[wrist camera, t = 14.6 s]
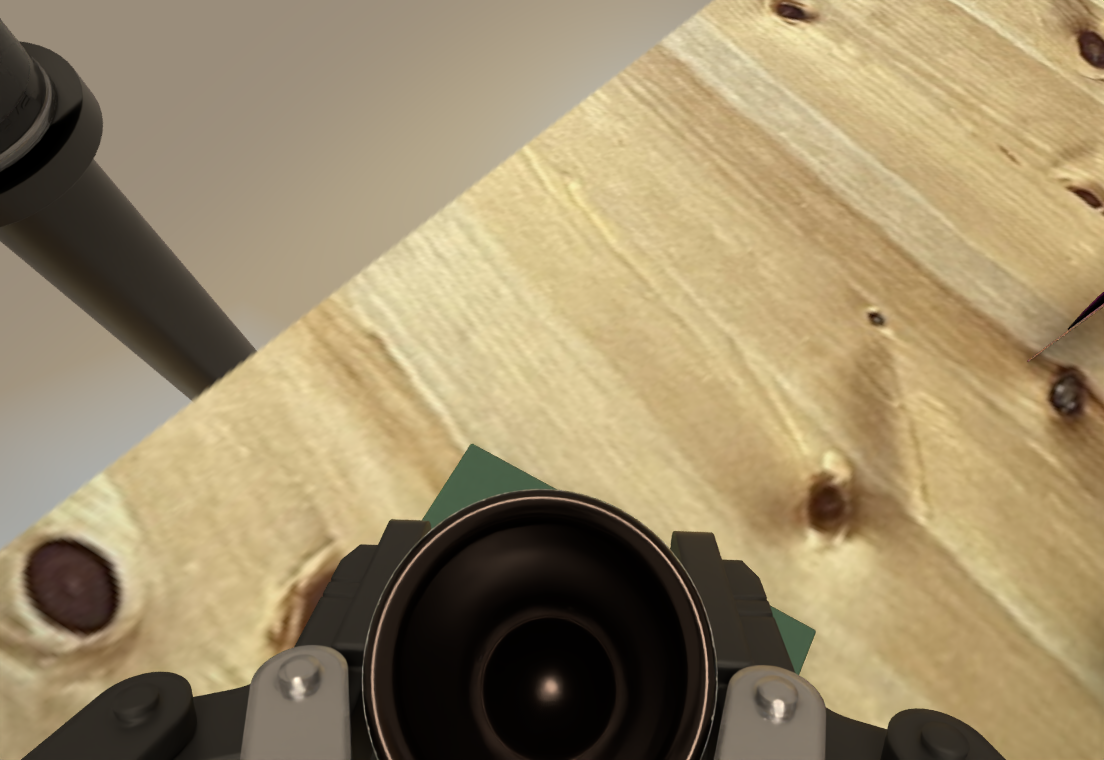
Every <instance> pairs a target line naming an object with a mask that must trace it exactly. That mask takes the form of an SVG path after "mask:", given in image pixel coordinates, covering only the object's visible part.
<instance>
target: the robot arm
mask: <svg viewBox="0 0 1104 760" xmlns="http://www.w3.org/2000/svg"><path fill="white" fill-rule="evenodd" d="M57 103H58V98H57V91H56V88H55V85H54V83H53V81H52V79H51V78H50V76H49V75H48V74H47V73H46V71H45V70H44V69H43V68H42V67H41V65H40V64H39V63H38V62H37V61H36V60H35V59H34V58H33V57H31V56H30V55H29V53H28V52H27V51H26V50H25V49H24V47H23V46H22V45H21V44H20V42H19V41H18V40H17V39H16V38H15V36H14V35H13V34H12V33H11V31H10V30H9V29H8V28H7V26H6V25H5V24H4V23H3V22H2V20H1V19H0V173H1V172H3V171H5V170H7V169H8V168H10V167H11V166H13V165H15V164H16V163H17V162H19V161H20V160H21V159H23V158H24V157H25V156H26V155H28V154H29V153H30V152H31V151H32V150H33V149H34V148H35V147H36V146H37V145H38V144H39V142H40V141H41V140H42V139H43V137H44V136H45V135H46V133H47V132H48V130H49V128H50V127H51V124H52V122H53V120H54V117H55V114H56V110H57ZM430 530H432V529H431V524H430V521H420V520H394V519H391V520H390V521H389V523H388V525H387V527H386V529H385V531H384V533H383V535H382V537H381V540H380V542H379V544H378V545H359V546H358V547H357V548H356V549H354V550H353V551H352V552H350V553H349V554H348V555H347V556H345V557H344V558H343V559H342V560H341V561H340V563H339V565H338V567H337V569H336V570H335V572H334V574H333V576H332V578H331V582H329V583H328V585H327V587H326V589H325V591H324V593H323V597H321V598H320V600H319V602H318V604H317V606H316V608H315V609H314V611H313V613H312V615H311V617H310V619H309V621H308V622H307V624H306V626H305V628H304V630H303V632H302V634H301V635H300V637H299V639H298V641H297V643H296V645H295V647H294V648H291V649H288V650H285V651H283V652H281V653H279V654H277V655H275V656H273V657H272V658H270V659H269V660H268V661H266V662H265V663H264V664H263V665H262V666H261V667H260V668H259V669H258V670H257V672H256V673H255V674H254V676H253V678H252V681H251V684H250V685H247V686H244V687H240V688H236V689H232V690H227V691H222V692H217V693H212V694H207V695H202V696H197V697H193V695H192V689H191V686H190V684H189V682H188V681H187V680H186V679H185V678H183V677H182V676H180V675H177V674H175V673H170V672H151V673H145V674H141V675H137V676H134V677H131V678H128V679H126V680H123V681H121V682H119V683H117V684H115V685H114V686H112V687H110V688H109V689H107V690H106V691H104V692H103V693H101V694H100V695H99V696H98V697H96V698H95V699H94V700H93V701H92V702H90V703H89V704H88V705H87V706H85V707H84V708H83V709H82V710H81V711H79V712H78V713H77V714H76V715H75V716H73V717H72V718H71V719H70V720H69V721H67V722H66V723H65V724H64V725H62V726H61V727H60V728H59V729H58V730H56V731H55V732H54V733H53V734H52V735H50V736H49V737H48V738H47V739H45V740H44V741H43V742H42V743H41V744H39V745H38V746H37V747H36V748H35V749H33V750H32V751H31V752H30V753H28V754H27V755H26V756H25V757H24V758H22V759H21V760H377V758H376V755H375V752H374V749H373V747H372V744H371V741H370V737H369V733H368V729H367V725H366V720H365V714H364V707H363V698H362V666H363V657H364V650H365V644H366V639H367V635H368V631H369V627H370V623H371V620H372V617H373V614H374V611H375V608H376V606H377V604H378V601H379V599H380V597H381V595H382V593H383V591H384V589H385V587H386V585H387V583H388V581H389V580H390V578H391V576H392V574H393V573H394V571H395V570H396V568H397V567H398V566H399V564H400V563H401V561H402V560H403V559H404V557H405V556H406V555H407V554H408V553H409V551H410V550H411V549H412V548H413V547H414V546H415V545H416V544H417V543H418V542H419V540H420V539H422V538H423V537H424V536H425V535H426V534H427V533H428V532H429V531H430ZM670 550H671V551H672V552H673V553H674V555H675V556H676V557H677V558H678V560H679V561H680V562H681V564H682V565H683V567H684V568H685V570H686V571H687V573H688V574H689V576H690V578H691V580H692V581H693V583H694V585H695V587H696V589H697V591H698V593H699V595H700V597H701V600H702V602H703V605H704V607H705V610H706V612H707V616H708V619H709V622H710V625H711V630H712V634H713V638H714V644H715V650H716V658H717V678H718V686H717V701H716V708H715V715H714V720H713V724H712V729H711V733H710V736H709V739H708V743H707V746H706V748H705V751H704V754H703V756H702V759H701V760H1006V759H1005V758H1004V757H1003V756H1002V755H1001V754H1000V753H999V752H998V751H997V750H996V749H995V748H994V747H993V746H992V745H991V744H990V743H989V742H988V741H987V740H986V739H985V738H984V737H983V736H982V735H981V734H979V733H978V732H977V731H976V730H974V729H973V728H972V727H970V726H969V725H967V724H966V723H964V722H962V721H960V720H958V719H956V718H954V717H952V716H950V715H947V714H944V713H942V712H938V711H934V710H929V709H908V710H904V711H901V712H899V713H897V714H896V715H895V716H893V717H892V719H891V720H890V722H889V725H888V729H884V728H880V727H877V726H873V725H870V724H866V723H863V722H860V721H856V720H853V719H850V718H847V717H844V716H842V715H839V714H837V713H835V712H833V711H831V710H830V709H828V708H826V707H825V703H824V701H823V699H822V697H821V695H820V693H819V692H818V691H817V690H816V688H815V687H814V686H813V685H812V684H810V683H809V682H808V681H807V680H805V679H804V678H803V677H801V676H799V675H797V674H796V673H795V670H794V667H793V665H792V662H791V660H790V657H789V654H788V652H787V649H786V646H785V644H784V641H783V639H782V636H781V633H780V631H779V628H778V625H777V623H776V620H775V618H774V617H773V612H772V610H771V607H770V604H769V602H768V601H767V597H766V594H765V591H764V589H763V586H762V584H761V581H760V578H759V577H758V576H757V575H756V574H755V573H754V572H753V571H752V570H751V569H750V568H749V567H748V566H747V565H746V564H745V563H744V562H743V561H741V560H722V559H721V556H720V552H719V549H718V546H717V543H716V540H715V536H714V534H713V533H710V532H684V531H674V532H673V534H672V539H671V548H670Z"/></svg>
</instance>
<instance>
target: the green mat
mask: <svg viewBox="0 0 1104 760" xmlns="http://www.w3.org/2000/svg"><path fill="white" fill-rule="evenodd" d="M531 489H552V490H557V489H555V488H553V487H551V486H549V485H548V484H546V483H544V482H542V481H540V480H538V479H537V478H535V477H533V476H531V475H529V474H527V473H525V472H524V471H522V470H520V469H518V468H516V467H514V466H513V465H511V464H509V463H507V462H505V461H503V460H502V459H500V458H498V457H496V456H494V455H492V454H491V453H489V452H487V451H485V450H483V449H481V448H480V447H478V446H476V445H474V444H471V445H470V446H469V448H468V449H467V451H466V452H465V454H464V456H463V457H462V459H461V460H460V462H459V463H458V465H457V466H456V468H455V470H454V471H453V473H452V474H451V476H450V477H449V479H448V480H447V482H446V484H445V485H444V487H443V488H442V490H441V491H440V493H439V495H438V496H437V498H436V499H435V501H434V502H433V504H432V505H431V507H430V509H429V510H428V512H427V513H426V515H425V516H424V518H423V519H422V521H430V524H431V529H433V528H434V527H435V526H437V525H438V524H439V523H440V522H442V521H443V520H445V519H446V518H448V517H449V516H451V515H452V514H454V513H456V512H458V511H459V510H461V509H463V508H465V507H467V506H469V505H471V504H473V503H476V502H478V501H481V500H483V499H486V498H489V497H492V496H496V495H499V494H504V493H508V492H513V491H520V490H531ZM770 607H771V610H772V612H773V617H774V618H775V620H776V623H777V625H778V628H779V631H780V633H781V636H782V639H783V641H784V644H785V646H786V649H787V652H788V654H789V657H790V660H791V662H792V665H793V667H794V670H795V673H796V674H797V675H799V673H800V671H801V668H802V666H803V663H804V661H805V658H806V656H807V653H808V651H809V648H810V645H811V643H812V640H813V638H814V635H815V633H816V631H815V630H814V629H812V628H810V627H809V626H807V625H805V624H803V623H801V622H799V621H798V620H796V619H794V618H792V617H790V616H788V615H787V614H785V613H783V612H781V611H779V610H777V609H775V608H774V607H772V606H770Z"/></svg>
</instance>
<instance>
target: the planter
mask: <svg viewBox="0 0 1104 760" xmlns="http://www.w3.org/2000/svg"><path fill="white" fill-rule="evenodd" d="M717 686H718V678H717V658H716V650H715V644H714V638H713V634H712V630H711V625H710V622H709V619H708V616H707V612H706V610H705V607H704V605H703V602H702V600H701V597H700V595H699V593H698V591H697V589H696V587H695V585H694V583H693V581H692V580H691V578H690V576H689V574H688V573H687V571H686V570H685V568H684V567H683V565H682V564H681V562H680V561H679V560H678V558H677V557H676V556H675V555H674V553H673V552H672V551H671V550H670V549H669V548H668V546H667V545H666V544H665V543H664V542H663V541H662V540H661V539H660V538H659V537H658V536H657V535H656V534H655V533H654V532H652V531H651V530H650V529H649V528H648V527H646V526H645V525H644V524H643V523H641V522H640V521H638V520H637V519H636V518H634V517H633V516H631V515H629V514H628V513H626V512H624V511H623V510H621V509H619V508H617V507H615V506H613V505H611V504H609V503H606V502H604V501H601V500H599V499H596V498H593V497H590V496H587V495H583V494H579V493H574V492H569V491H562V490H552V489H531V490H520V491H513V492H508V493H504V494H499V495H496V496H492V497H489V498H486V499H483V500H481V501H478V502H476V503H473V504H471V505H469V506H467V507H465V508H463V509H461V510H459V511H458V512H456V513H454V514H452V515H451V516H449V517H448V518H446V519H445V520H443V521H442V522H440V523H439V524H438V525H437V526H435V527H434V528H433V529H432V530H430V531H429V532H428V533H427V534H426V535H425V536H424V537H423V538H422V539H420V540H419V542H418V543H417V544H416V545H415V546H414V547H413V548H412V549H411V550H410V551H409V553H408V554H407V555H406V556H405V557H404V559H403V560H402V561H401V563H400V564H399V566H398V567H397V568H396V570H395V571H394V573H393V574H392V576H391V578H390V580H389V581H388V583H387V585H386V587H385V589H384V591H383V593H382V595H381V597H380V599H379V601H378V604H377V606H376V608H375V611H374V614H373V617H372V620H371V623H370V627H369V631H368V635H367V639H366V644H365V650H364V657H363V666H362V698H363V707H364V714H365V720H366V725H367V729H368V733H369V737H370V741H371V744H372V747H373V749H374V752H375V755H376V758H377V760H701V759H702V756H703V754H704V751H705V748H706V746H707V743H708V739H709V736H710V733H711V729H712V724H713V720H714V715H715V708H716V701H717Z"/></svg>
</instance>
